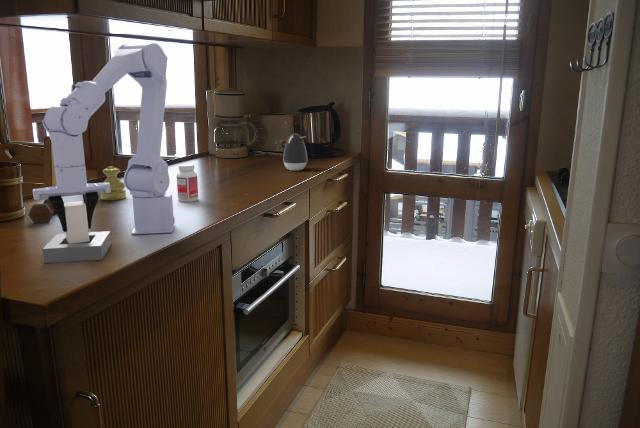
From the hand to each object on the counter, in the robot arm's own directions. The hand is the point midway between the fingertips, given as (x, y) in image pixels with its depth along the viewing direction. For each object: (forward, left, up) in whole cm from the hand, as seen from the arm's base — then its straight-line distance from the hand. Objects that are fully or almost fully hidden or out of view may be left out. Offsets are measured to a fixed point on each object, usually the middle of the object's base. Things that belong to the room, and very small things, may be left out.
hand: (76, 229), depth 112 cm
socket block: (0, 0, -5) cm, 5 cm away
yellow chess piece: (+2, -56, -6) cm, 56 cm away
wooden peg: (0, 0, -2) cm, 3 cm away
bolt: (+15, -35, -6) cm, 39 cm away
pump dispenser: (-63, -101, -6) cm, 119 cm away
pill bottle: (-21, -49, -6) cm, 54 cm away
